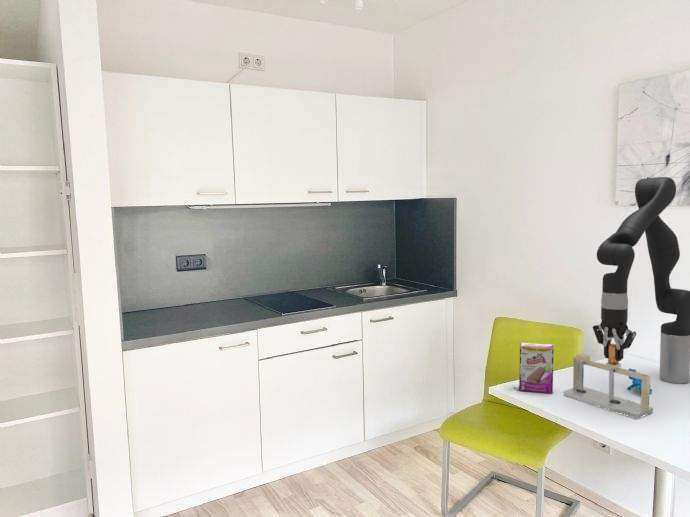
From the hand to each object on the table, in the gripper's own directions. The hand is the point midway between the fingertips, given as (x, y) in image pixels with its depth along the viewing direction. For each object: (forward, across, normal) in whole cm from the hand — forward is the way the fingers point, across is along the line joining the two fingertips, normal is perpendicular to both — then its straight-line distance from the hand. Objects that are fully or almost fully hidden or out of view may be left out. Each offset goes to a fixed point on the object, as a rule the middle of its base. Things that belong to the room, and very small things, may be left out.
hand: (613, 358), depth 167 cm
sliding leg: (+13, 0, 0) cm, 13 cm away
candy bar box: (+15, +23, +9) cm, 29 cm away
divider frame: (+15, +2, +1) cm, 15 cm away
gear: (+15, +2, -18) cm, 24 cm away
